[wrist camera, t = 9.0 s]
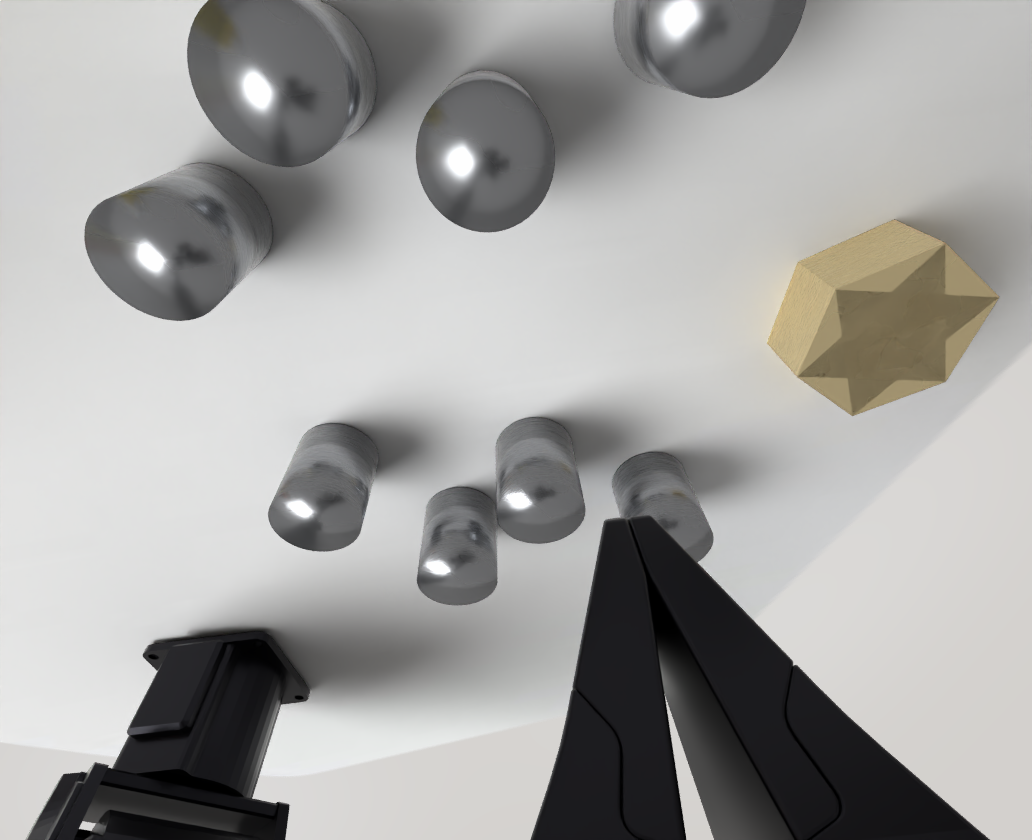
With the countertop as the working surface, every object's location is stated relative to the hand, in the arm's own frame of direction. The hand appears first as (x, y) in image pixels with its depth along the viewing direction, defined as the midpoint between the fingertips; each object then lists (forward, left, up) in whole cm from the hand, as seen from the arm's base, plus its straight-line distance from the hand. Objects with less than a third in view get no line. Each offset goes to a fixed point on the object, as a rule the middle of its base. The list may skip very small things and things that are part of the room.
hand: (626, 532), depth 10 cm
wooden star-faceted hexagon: (-1, -10, -10) cm, 14 cm away
